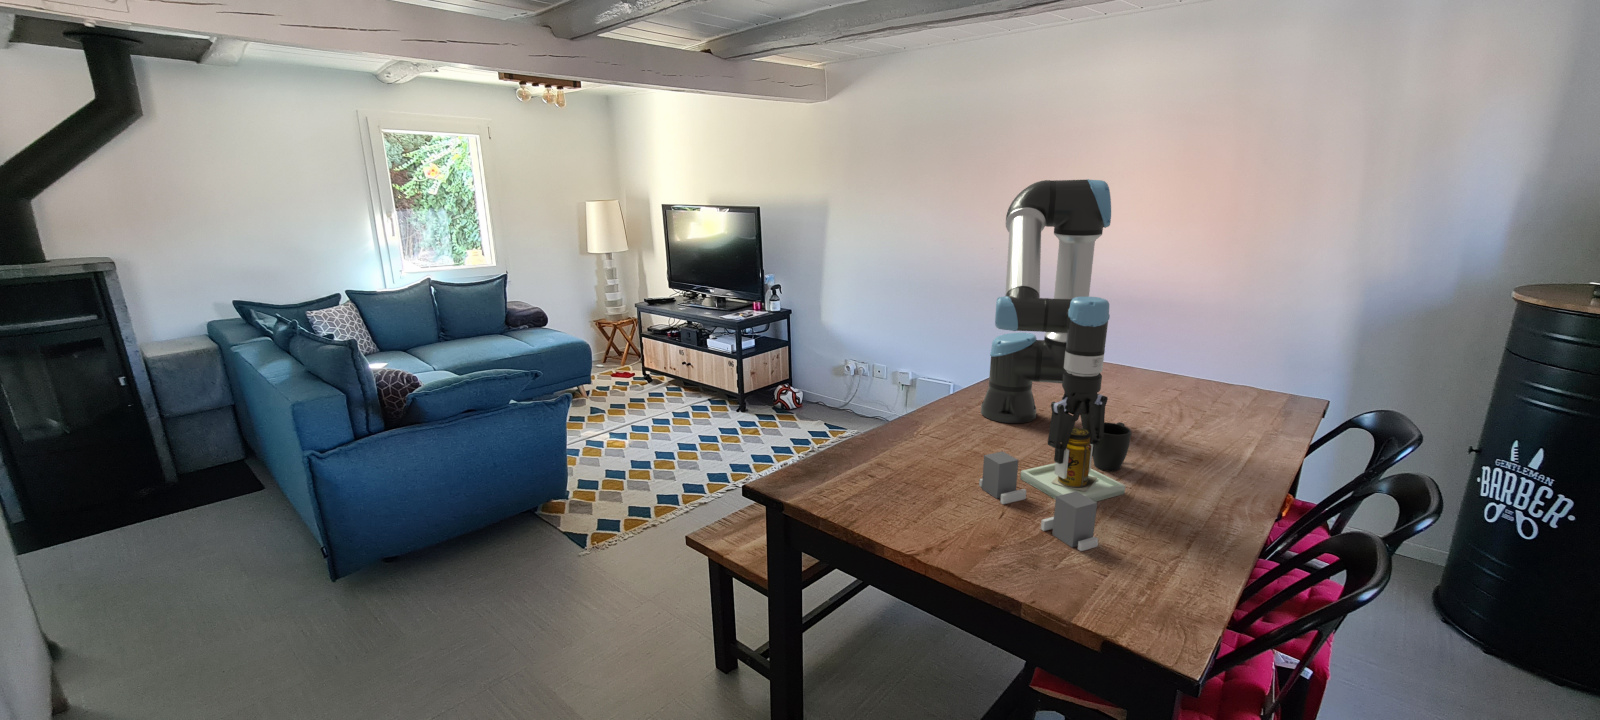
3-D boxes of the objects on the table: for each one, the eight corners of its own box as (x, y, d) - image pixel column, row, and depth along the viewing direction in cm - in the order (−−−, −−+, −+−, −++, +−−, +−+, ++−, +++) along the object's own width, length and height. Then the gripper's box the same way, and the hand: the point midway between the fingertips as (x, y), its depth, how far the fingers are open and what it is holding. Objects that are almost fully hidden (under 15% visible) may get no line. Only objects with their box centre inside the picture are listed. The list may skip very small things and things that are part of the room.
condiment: (1050, 483, 144) (1055, 432, 141) (1064, 470, 150) (1069, 420, 147) (1085, 492, 139) (1091, 440, 136) (1097, 478, 145) (1103, 428, 142)
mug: (1137, 461, 157) (1142, 423, 154) (1119, 477, 148) (1123, 438, 146) (1101, 451, 162) (1105, 415, 160) (1082, 467, 154) (1086, 429, 151)
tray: (1020, 478, 148) (1020, 470, 148) (1071, 467, 154) (1072, 459, 153) (1070, 508, 135) (1071, 499, 135) (1124, 493, 141) (1125, 485, 140)
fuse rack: (975, 486, 145) (977, 452, 143) (997, 481, 147) (999, 448, 145) (1076, 552, 119) (1081, 512, 117) (1101, 545, 121) (1106, 505, 119)
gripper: (1061, 382, 131) (1050, 488, 137) (1131, 370, 138) (1118, 471, 144) (1034, 372, 137) (1025, 474, 144) (1102, 361, 144) (1091, 459, 151)
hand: (1072, 473), depth 144 cm, fingers closed on condiment, 6 cm apart
